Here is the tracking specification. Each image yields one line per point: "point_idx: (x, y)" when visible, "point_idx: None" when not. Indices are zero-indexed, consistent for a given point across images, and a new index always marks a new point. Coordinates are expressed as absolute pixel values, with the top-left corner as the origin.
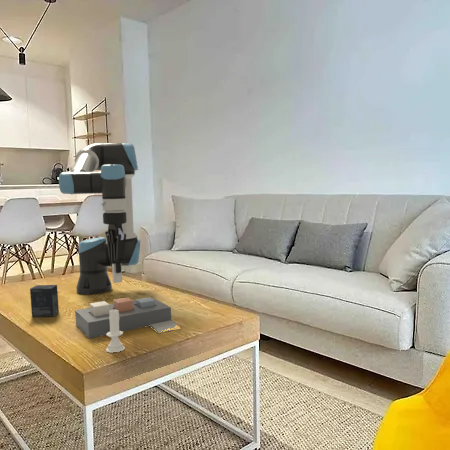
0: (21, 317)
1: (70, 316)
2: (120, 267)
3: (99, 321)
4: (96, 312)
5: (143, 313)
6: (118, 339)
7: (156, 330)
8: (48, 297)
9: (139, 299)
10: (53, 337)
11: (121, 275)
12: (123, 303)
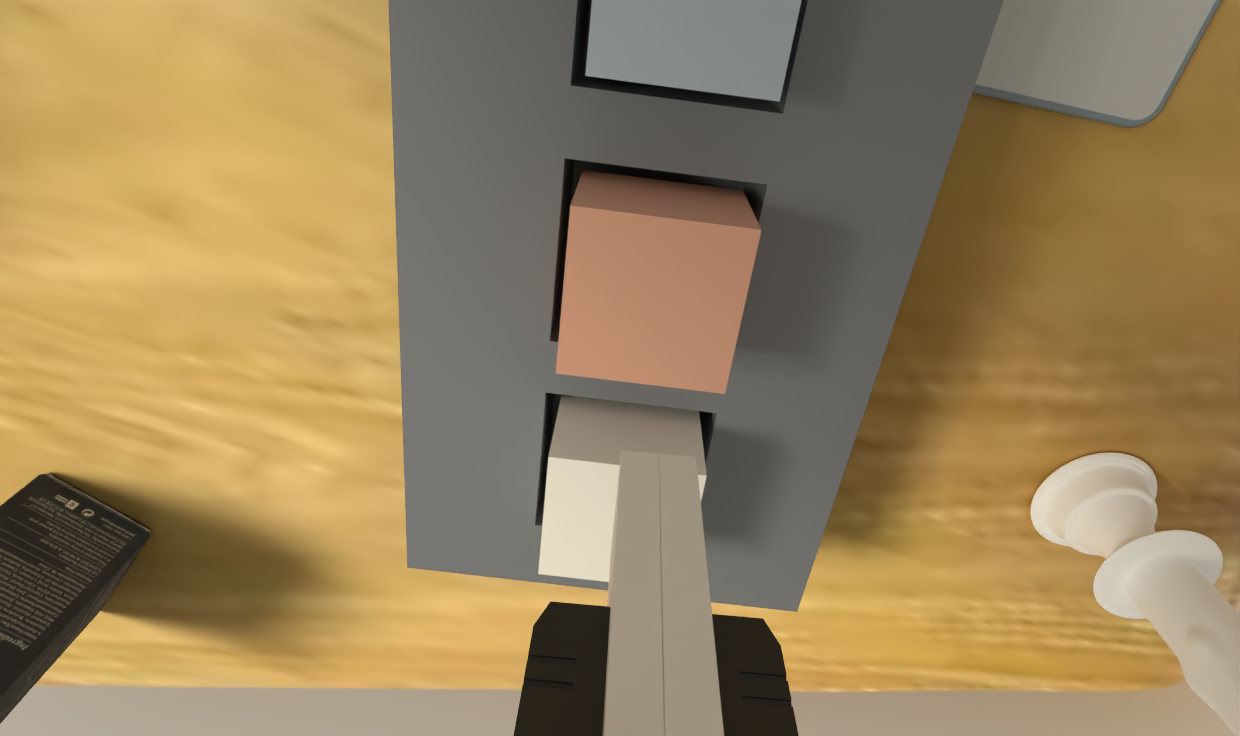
0: (80, 648)
1: (206, 448)
2: (790, 730)
3: (816, 542)
4: None
5: (940, 168)
6: (1154, 532)
7: (1097, 115)
8: (37, 663)
9: (616, 31)
10: None
11: (701, 538)
12: (734, 332)
